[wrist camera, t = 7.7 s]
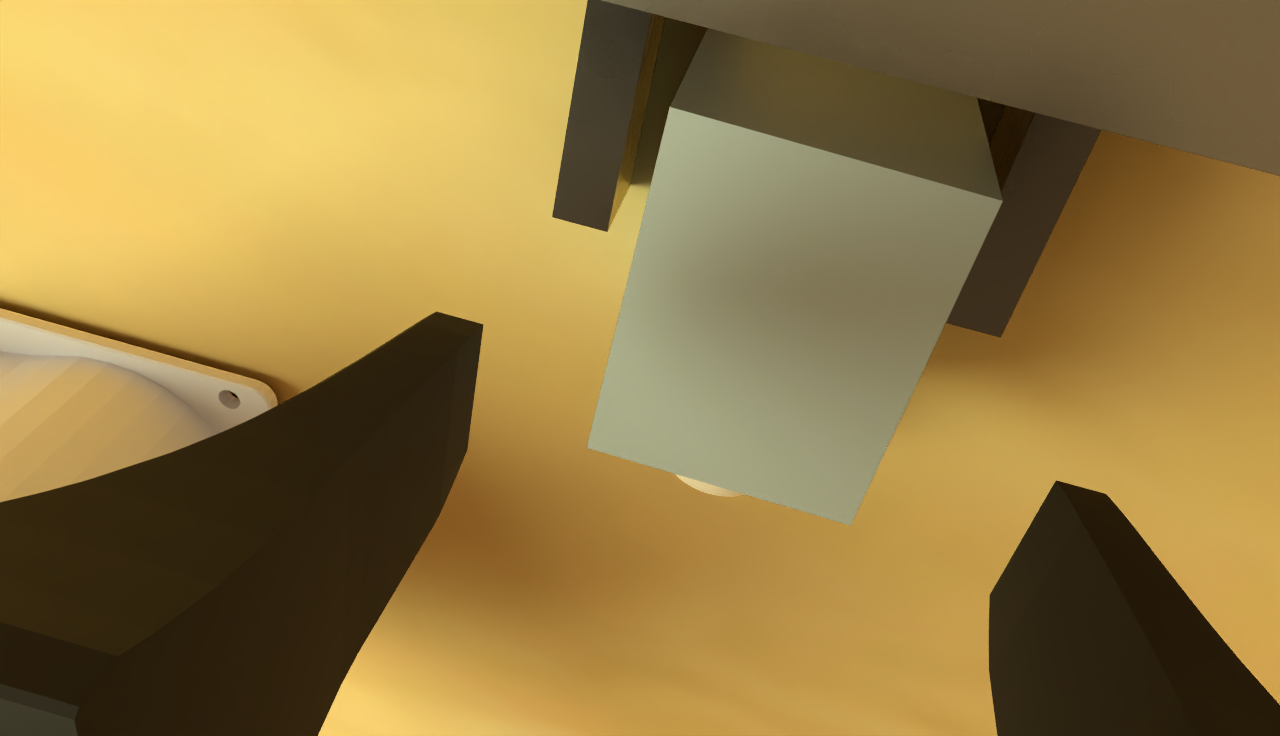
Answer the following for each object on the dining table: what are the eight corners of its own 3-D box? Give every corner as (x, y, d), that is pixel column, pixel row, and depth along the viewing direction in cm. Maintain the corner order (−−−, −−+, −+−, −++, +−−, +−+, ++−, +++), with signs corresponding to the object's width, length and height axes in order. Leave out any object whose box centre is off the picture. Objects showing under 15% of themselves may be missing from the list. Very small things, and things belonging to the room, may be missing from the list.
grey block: (627, 357, 22) (571, 512, 18) (717, 8, 18) (669, 107, 13) (831, 417, 22) (821, 587, 18) (972, 79, 17) (1003, 201, 13)
